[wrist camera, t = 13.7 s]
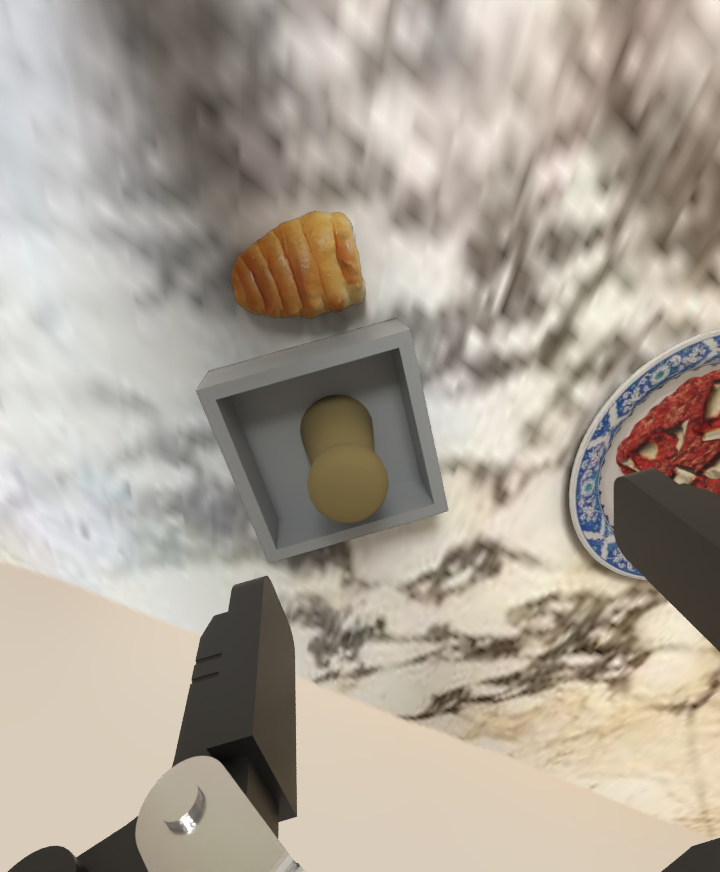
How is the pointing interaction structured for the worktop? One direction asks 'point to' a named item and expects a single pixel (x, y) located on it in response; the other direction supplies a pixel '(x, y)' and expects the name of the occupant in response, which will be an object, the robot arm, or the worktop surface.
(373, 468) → the cork
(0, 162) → the worktop surface
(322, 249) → the pastry
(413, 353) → the bin
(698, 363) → the ceramic plate
